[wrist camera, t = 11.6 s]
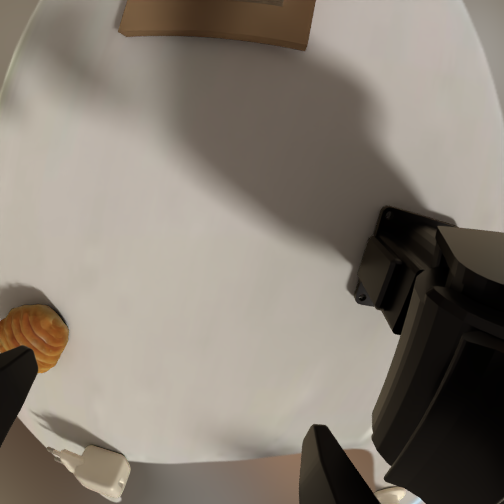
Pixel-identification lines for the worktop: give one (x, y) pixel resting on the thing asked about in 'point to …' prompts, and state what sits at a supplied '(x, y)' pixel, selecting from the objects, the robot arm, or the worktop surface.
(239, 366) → the worktop surface
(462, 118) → the worktop surface
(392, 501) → the candle
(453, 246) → the robot arm
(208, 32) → the plate
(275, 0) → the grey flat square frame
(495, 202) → the worktop surface
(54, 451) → the power adapter
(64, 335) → the pastry
